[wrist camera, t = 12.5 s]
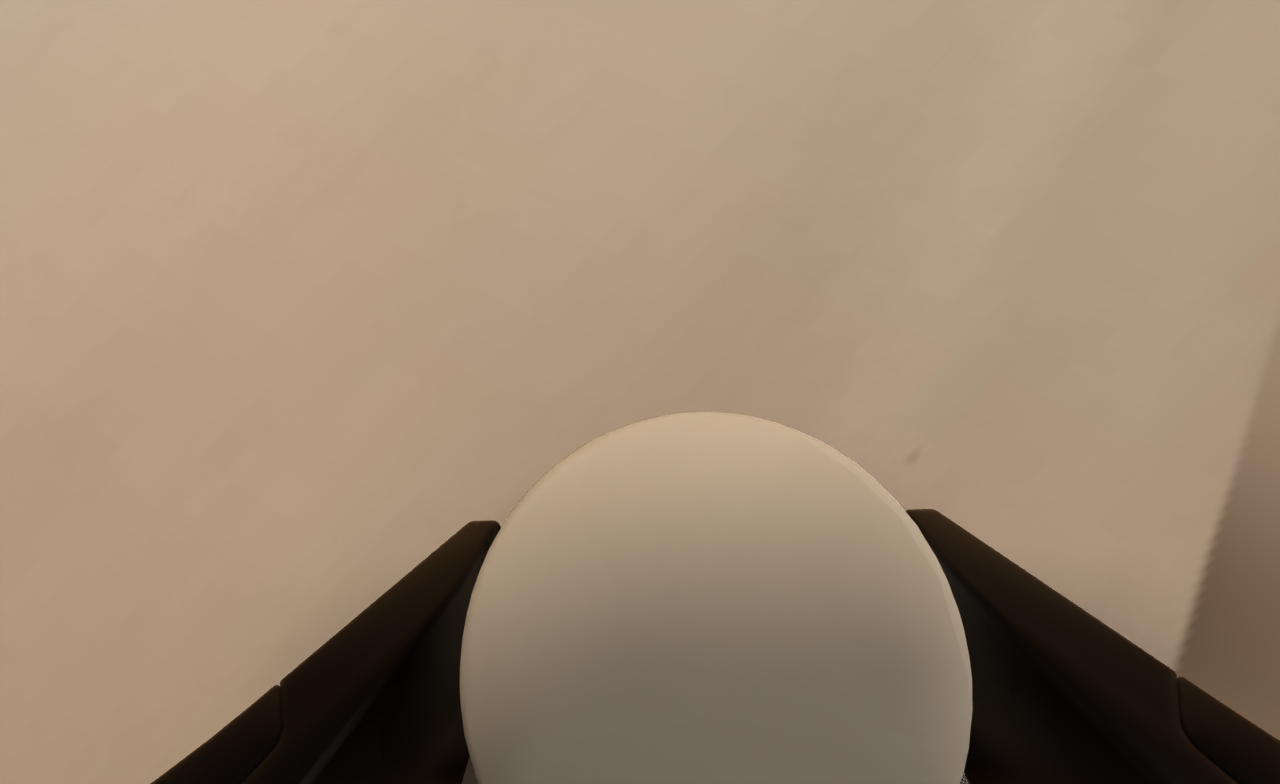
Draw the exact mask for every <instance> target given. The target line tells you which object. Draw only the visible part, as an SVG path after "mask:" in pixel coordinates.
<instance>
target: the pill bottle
mask: <svg viewBox="0 0 1280 784" xmlns="http://www.w3.org/2000/svg"><path fill="white" fill-rule="evenodd" d="M460 702H461V712H462V720H463V728H464V735H465V739H466V743H467V747H468V751H469V754H470V758H471V762H472V765H473V768H474V772H475V775H476V778H477V781H478V783H479V784H960V783H961V780H962V776H963V773H964V769H965V764H966V759H967V755H968V750H969V741H970V730H971V720H972V711H973V705H972V674H971V666H970V658H969V653H968V647H967V642H966V637H965V632H964V628H963V624H962V620H961V617H960V613H959V610H958V607H957V605H956V602H955V599H954V597H953V594H952V591H951V588H950V586H949V583H948V580H947V578H946V576H945V574H944V572H943V570H942V568H941V566H940V564H939V561H938V559H937V557H936V556H935V554H934V553H933V551H932V549H931V548H930V546H929V545H928V543H927V541H926V540H925V538H924V536H923V535H922V533H921V531H920V530H919V528H918V526H917V525H916V523H915V522H914V521H913V520H912V519H911V517H910V516H909V515H908V514H907V513H906V511H905V510H904V509H903V508H902V507H901V505H900V504H899V503H898V502H897V501H896V499H895V498H894V497H893V496H892V495H891V494H890V493H889V492H888V491H887V490H886V489H885V488H884V487H883V486H882V485H881V484H880V483H879V482H878V481H877V480H876V479H875V478H873V477H872V476H871V475H870V474H869V473H868V472H867V471H865V470H864V469H863V468H862V467H861V466H860V465H858V464H857V463H856V462H854V461H853V460H851V459H850V458H848V457H846V456H845V455H843V454H842V453H840V452H839V451H837V450H836V449H835V448H833V447H831V446H829V445H827V444H825V443H824V442H822V441H820V440H818V439H816V438H814V437H812V436H810V435H808V434H805V433H803V432H801V431H798V430H796V429H793V428H791V427H788V426H785V425H782V424H779V423H777V422H774V421H770V420H766V419H761V418H757V417H753V416H748V415H741V414H733V413H726V412H687V413H676V414H668V415H664V416H658V417H653V418H649V419H646V420H642V421H638V422H635V423H632V424H629V425H626V426H624V427H621V428H618V429H616V430H613V431H611V432H608V433H606V434H603V435H601V436H599V437H597V438H596V439H594V440H592V441H590V442H589V443H587V444H585V445H583V446H582V447H580V448H579V449H577V450H576V451H574V452H573V453H572V454H570V455H569V456H568V457H566V458H565V459H564V460H562V461H561V462H560V463H558V464H557V465H556V466H554V467H553V468H552V469H551V470H549V471H548V472H547V473H546V474H545V475H543V476H542V477H541V478H540V479H539V480H538V481H537V482H536V483H535V484H534V485H533V486H532V487H531V488H530V489H529V490H528V491H527V493H526V494H525V495H524V496H523V498H522V499H521V500H520V502H519V503H518V504H517V505H516V507H515V508H514V509H513V511H512V512H511V513H510V515H509V516H508V518H507V520H506V521H505V523H504V524H503V526H502V528H501V529H500V531H499V532H498V534H497V536H496V538H495V539H494V541H493V543H492V545H491V547H490V548H489V550H488V553H487V555H486V557H485V560H484V562H483V564H482V567H481V569H480V571H479V574H478V577H477V580H476V583H475V586H474V588H473V591H472V595H471V599H470V603H469V607H468V611H467V615H466V621H465V627H464V632H463V638H462V648H461V660H460Z"/></svg>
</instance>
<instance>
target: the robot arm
mask: <svg viewBox="0 0 1280 784" xmlns="http://www.w3.org/2000/svg"><path fill="white" fill-rule="evenodd" d="M906 513H907V514H908V515H909V516H910V517H911V519H912V520H913V521H914V522H915V523H916V525H917V526H918V528H919V530H920V531H921V533H922V535H923V536H924V538H925V540H926V541H927V543H928V545H929V546H930V548H931V549H932V551H933V553H934V554H935V556H936V557H937V559H938V561H939V564H940V566H941V568H942V570H943V572H944V574H945V576H946V578H947V580H948V583H949V586H950V588H951V591H952V594H953V597H954V599H955V602H956V605H957V607H958V610H959V613H960V617H961V620H962V624H963V628H964V632H965V637H966V642H967V647H968V653H969V658H970V666H971V674H972V705H973V711H972V720H971V730H970V741H969V750H968V755H967V759H966V764H965V769H964V772H965V775H966V777H967V780H968V782H969V784H1280V740H1278V739H1276V738H1275V737H1273V736H1272V735H1270V734H1268V733H1267V732H1265V731H1264V730H1262V729H1261V728H1259V727H1258V726H1256V725H1255V724H1253V723H1252V722H1250V721H1248V720H1247V719H1245V718H1244V717H1242V716H1241V715H1239V714H1238V713H1236V712H1235V711H1233V710H1232V709H1230V708H1229V707H1227V706H1226V705H1224V704H1223V703H1221V702H1219V701H1218V700H1216V699H1215V698H1213V697H1212V696H1211V695H1209V694H1208V693H1206V692H1204V691H1203V690H1201V689H1200V688H1199V687H1197V686H1196V685H1194V684H1193V683H1191V682H1190V681H1188V680H1187V679H1185V678H1183V677H1178V678H1177V675H1176V673H1175V672H1174V671H1173V670H1172V669H1170V668H1169V667H1167V666H1166V665H1164V664H1163V663H1161V662H1160V661H1158V660H1157V659H1155V658H1154V657H1152V656H1151V655H1149V654H1148V653H1147V652H1145V651H1144V650H1142V649H1141V648H1139V647H1138V646H1136V645H1135V644H1133V643H1132V642H1130V641H1129V640H1127V639H1126V638H1124V637H1123V636H1121V635H1120V634H1118V633H1117V632H1115V631H1114V630H1112V629H1111V628H1110V627H1108V626H1107V625H1105V624H1104V623H1102V622H1101V621H1099V620H1098V619H1096V618H1095V617H1093V616H1092V615H1090V614H1089V613H1087V612H1086V611H1084V610H1083V609H1081V608H1080V607H1078V606H1077V605H1075V604H1074V603H1073V602H1071V601H1070V600H1068V599H1067V598H1065V597H1064V596H1062V595H1061V594H1059V593H1058V592H1056V591H1055V590H1053V589H1052V588H1050V587H1049V586H1047V585H1046V584H1044V583H1043V582H1041V581H1040V580H1038V579H1037V578H1036V577H1034V576H1033V575H1031V574H1030V573H1028V572H1027V571H1025V570H1024V569H1022V568H1021V567H1019V566H1018V565H1016V564H1015V563H1013V562H1012V561H1010V560H1009V559H1007V558H1006V557H1004V556H1003V555H1001V554H1000V553H999V552H997V551H996V550H994V549H993V548H991V547H990V546H988V545H987V544H985V543H984V542H982V541H981V540H979V539H978V538H976V537H975V536H973V535H972V534H970V533H969V532H967V531H966V530H964V529H963V528H962V527H960V526H959V525H957V524H956V523H954V522H953V521H951V520H950V519H948V518H947V517H945V516H944V515H942V514H941V513H939V512H938V511H936V510H933V509H914V510H906ZM500 529H501V527H500V525H499V523H498V522H496V521H472V522H469V523H468V524H466V525H465V526H464V527H463V528H462V529H460V530H459V531H458V532H457V533H456V534H455V535H453V536H452V537H451V538H450V539H449V540H447V541H446V542H445V543H444V544H443V545H441V546H440V547H439V548H438V549H437V550H436V551H434V552H433V553H432V554H431V555H430V556H428V557H427V558H426V559H425V560H424V561H422V562H421V563H420V564H419V565H418V566H416V567H415V568H414V569H413V570H412V571H411V572H409V573H408V574H407V575H406V576H405V577H403V578H402V579H401V580H400V581H399V582H397V583H396V584H395V585H394V586H393V587H392V588H390V589H389V590H388V591H387V592H386V593H384V594H383V595H382V596H381V597H380V598H378V599H377V600H376V601H375V602H374V603H373V604H371V605H370V606H369V607H368V608H367V609H365V610H364V611H363V612H362V613H361V614H359V615H358V616H357V617H356V618H355V619H354V620H352V621H351V622H350V623H349V624H348V625H346V626H345V627H344V628H343V629H342V630H340V631H339V632H338V633H337V634H336V635H335V636H333V637H332V638H331V639H330V640H329V641H327V642H326V643H325V644H324V645H323V646H321V647H320V648H319V649H318V650H317V651H316V652H314V653H313V654H312V655H311V656H310V657H308V658H307V659H306V660H305V661H304V662H302V663H301V664H300V665H299V666H298V667H297V668H295V669H294V670H293V671H292V672H291V673H289V674H288V675H287V676H286V677H285V678H283V679H282V680H281V682H280V686H278V685H275V686H274V687H272V688H271V689H270V690H269V691H268V692H267V693H265V694H264V695H263V696H262V697H261V698H259V699H258V700H257V701H256V702H255V703H253V704H252V705H251V706H250V707H249V708H247V709H246V710H245V711H244V712H242V713H241V714H240V715H239V716H238V717H236V718H235V719H234V720H233V721H231V722H230V723H229V724H228V725H226V726H225V727H224V728H223V729H222V730H220V731H219V732H218V733H217V734H215V735H214V736H213V737H212V738H210V739H209V740H208V741H207V742H205V743H204V744H203V745H201V746H200V747H199V748H197V749H196V750H195V751H193V752H192V753H191V754H189V755H188V756H187V757H186V758H184V759H183V760H182V761H180V762H179V763H178V764H176V765H175V766H174V767H172V768H171V769H170V770H168V771H167V772H166V773H164V774H163V775H162V776H160V777H159V778H158V779H156V780H155V781H154V782H152V783H151V784H462V781H463V777H464V774H465V770H466V767H467V763H468V760H469V756H470V754H469V751H468V747H467V743H466V739H465V735H464V728H463V720H462V712H461V702H460V660H461V648H462V638H463V632H464V627H465V621H466V615H467V611H468V607H469V603H470V599H471V595H472V591H473V588H474V586H475V583H476V580H477V577H478V574H479V571H480V569H481V567H482V564H483V562H484V560H485V557H486V555H487V553H488V550H489V548H490V547H491V545H492V543H493V541H494V539H495V538H496V536H497V534H498V532H499V531H500Z"/></svg>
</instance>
